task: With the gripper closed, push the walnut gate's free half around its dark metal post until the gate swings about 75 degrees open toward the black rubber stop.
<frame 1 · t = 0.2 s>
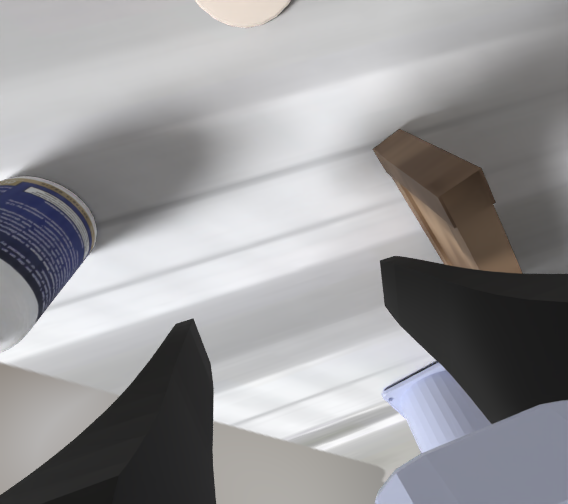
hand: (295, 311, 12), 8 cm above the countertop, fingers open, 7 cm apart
gate: (471, 262, 17), point 4 cm above the countertop, hinge at 0.0°
pill bottle: (48, 219, 18), on the countertop
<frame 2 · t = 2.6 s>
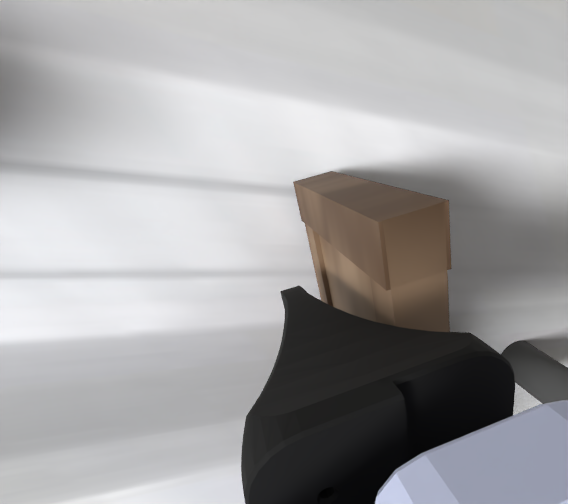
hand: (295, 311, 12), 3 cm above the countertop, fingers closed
gate: (376, 374, 12), point 4 cm above the countertop, hinge at 3.1°, touching gripper
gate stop: (514, 357, 20), on the countertop
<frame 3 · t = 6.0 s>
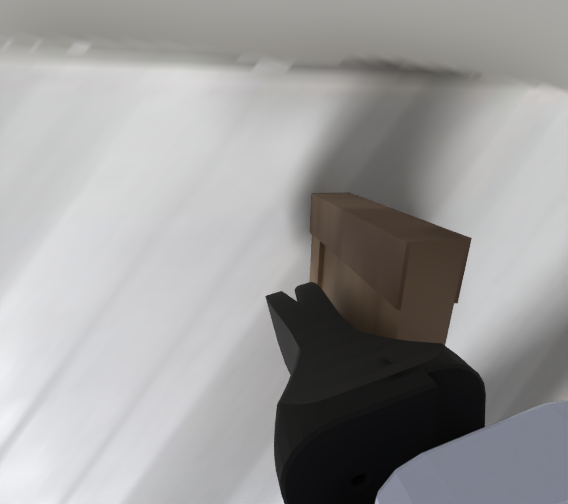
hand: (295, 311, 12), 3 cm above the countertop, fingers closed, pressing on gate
gate: (349, 396, 12), point 4 cm above the countertop, hinge at 75.1°, touching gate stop, gripper
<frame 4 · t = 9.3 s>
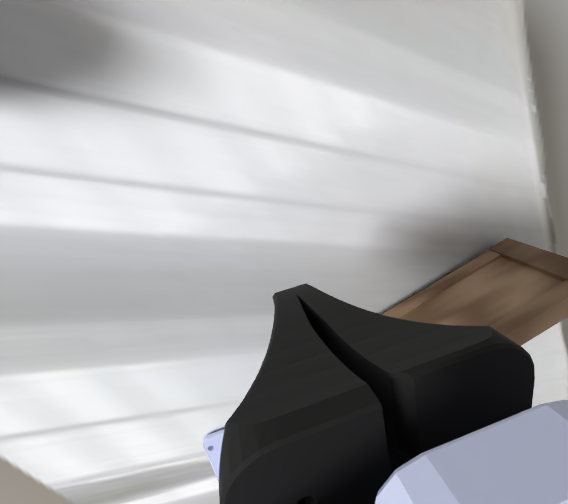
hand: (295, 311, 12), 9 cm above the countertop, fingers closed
gate: (460, 317, 21), point 4 cm above the countertop, hinge at 75.1°, touching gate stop
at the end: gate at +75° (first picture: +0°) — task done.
